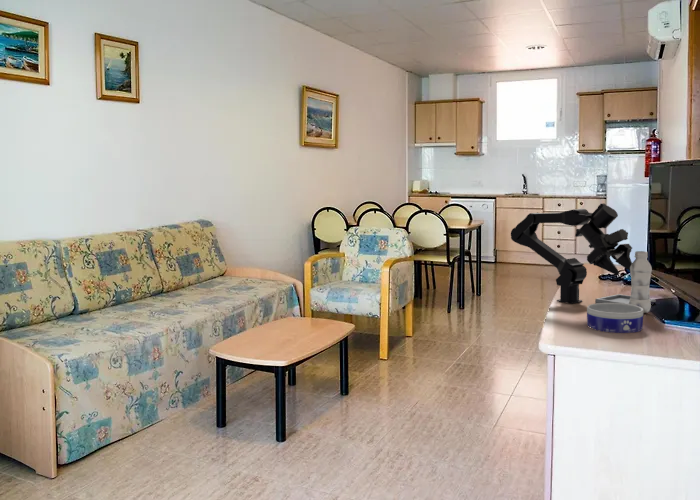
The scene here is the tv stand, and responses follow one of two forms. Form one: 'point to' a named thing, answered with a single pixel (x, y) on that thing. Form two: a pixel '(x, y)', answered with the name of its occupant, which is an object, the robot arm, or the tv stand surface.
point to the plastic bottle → (640, 281)
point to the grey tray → (617, 299)
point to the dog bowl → (615, 317)
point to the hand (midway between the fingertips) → (626, 272)
